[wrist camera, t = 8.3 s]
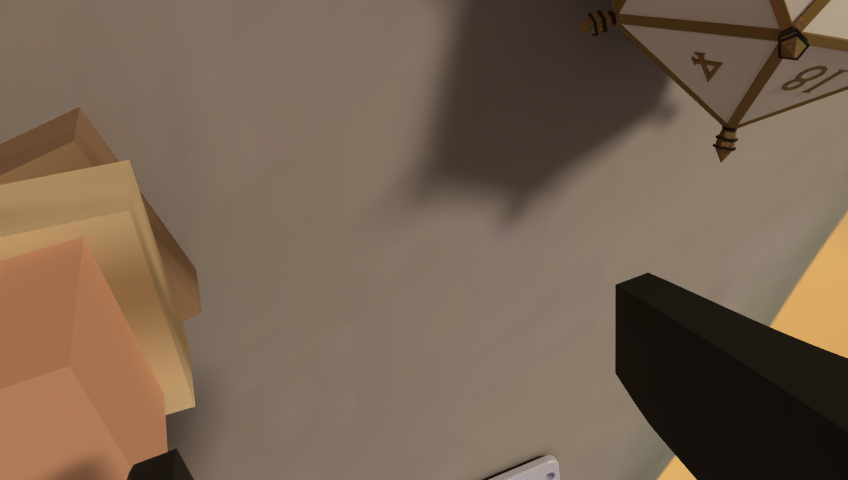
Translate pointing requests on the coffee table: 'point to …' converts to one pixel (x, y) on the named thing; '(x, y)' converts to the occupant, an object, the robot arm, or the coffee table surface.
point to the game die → (739, 52)
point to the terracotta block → (71, 373)
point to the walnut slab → (83, 148)
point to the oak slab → (107, 256)
